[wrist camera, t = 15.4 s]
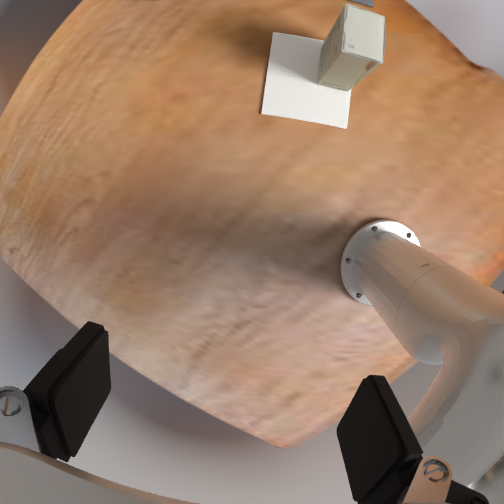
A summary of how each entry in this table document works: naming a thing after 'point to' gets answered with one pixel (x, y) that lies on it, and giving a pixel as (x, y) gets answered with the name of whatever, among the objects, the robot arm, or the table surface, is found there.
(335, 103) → the note sheet
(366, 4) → the slate card
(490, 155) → the table surface
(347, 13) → the skincare box
